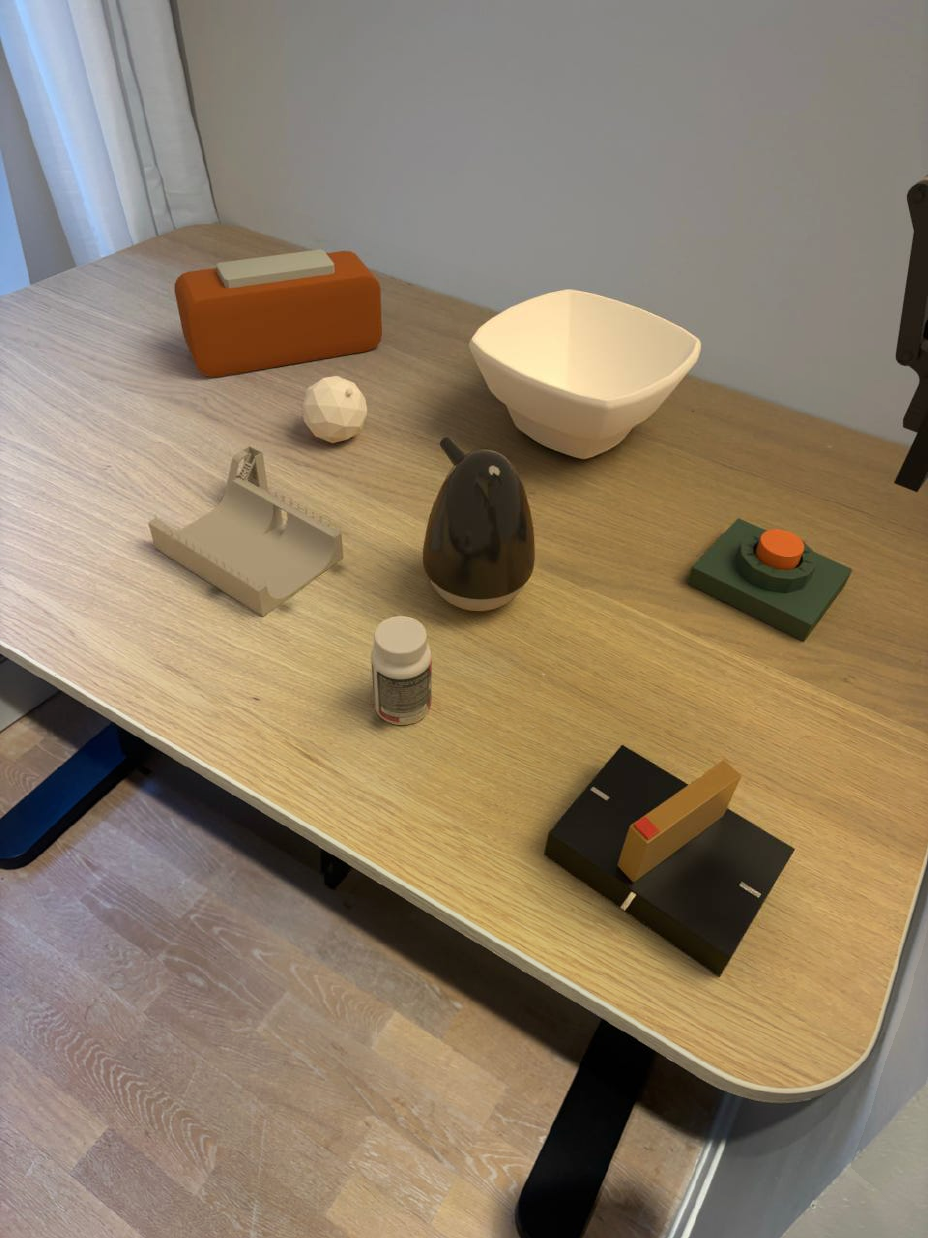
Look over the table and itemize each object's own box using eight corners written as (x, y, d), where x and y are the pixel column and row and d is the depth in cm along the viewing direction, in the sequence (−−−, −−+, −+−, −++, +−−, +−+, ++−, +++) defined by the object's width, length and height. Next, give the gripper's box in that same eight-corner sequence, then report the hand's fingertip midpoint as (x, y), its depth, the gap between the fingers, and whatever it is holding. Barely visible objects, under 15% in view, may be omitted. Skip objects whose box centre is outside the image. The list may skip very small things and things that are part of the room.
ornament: (354, 411, 104) (384, 376, 97) (344, 463, 101) (374, 430, 94) (299, 386, 100) (327, 348, 94) (287, 439, 97) (314, 404, 91)
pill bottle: (441, 712, 72) (444, 642, 66) (391, 735, 70) (389, 665, 64) (413, 674, 75) (412, 604, 69) (363, 696, 73) (359, 625, 67)
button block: (844, 585, 85) (859, 554, 82) (804, 642, 79) (818, 610, 76) (732, 534, 90) (742, 503, 87) (686, 583, 84) (696, 552, 81)
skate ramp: (155, 547, 85) (143, 506, 81) (256, 485, 93) (249, 445, 89) (263, 616, 79) (255, 574, 75) (361, 544, 87) (359, 503, 83)
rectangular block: (707, 800, 63) (725, 757, 59) (723, 816, 62) (743, 773, 58) (616, 865, 59) (630, 823, 55) (633, 883, 58) (647, 841, 54)
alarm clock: (362, 321, 120) (358, 238, 112) (383, 349, 115) (380, 263, 107) (186, 350, 113) (168, 262, 105) (199, 381, 107) (182, 291, 99)
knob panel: (791, 855, 64) (805, 832, 61) (708, 997, 56) (720, 976, 54) (626, 754, 69) (633, 730, 67) (530, 870, 62) (535, 847, 60)
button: (805, 555, 82) (811, 541, 81) (788, 576, 80) (794, 562, 79) (766, 537, 84) (771, 523, 83) (748, 558, 82) (753, 543, 80)
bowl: (554, 365, 114) (565, 277, 105) (703, 431, 104) (727, 340, 95) (440, 432, 101) (442, 338, 93) (596, 514, 91) (613, 417, 83)
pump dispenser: (477, 540, 88) (485, 407, 77) (552, 594, 82) (572, 459, 72) (398, 584, 83) (396, 448, 72) (473, 645, 77) (483, 508, 67)
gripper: (1302, 57, 38) (1034, 492, 55) (995, 8, 44) (836, 417, 60) (1288, 89, 34) (1003, 550, 51) (950, 31, 40) (792, 464, 56)
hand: (912, 477), depth 56 cm, fingers closed
